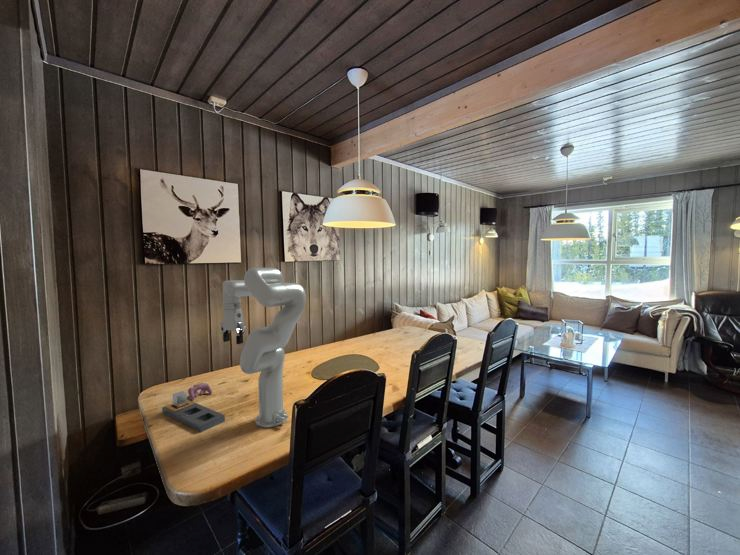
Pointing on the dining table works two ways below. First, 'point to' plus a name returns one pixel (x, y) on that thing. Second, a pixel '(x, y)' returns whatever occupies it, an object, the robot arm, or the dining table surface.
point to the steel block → (179, 399)
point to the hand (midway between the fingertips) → (233, 342)
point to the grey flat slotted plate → (194, 415)
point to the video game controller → (201, 386)
